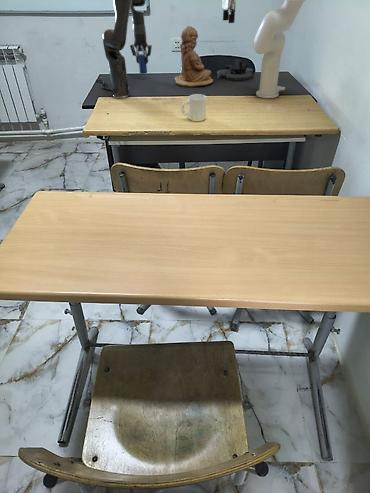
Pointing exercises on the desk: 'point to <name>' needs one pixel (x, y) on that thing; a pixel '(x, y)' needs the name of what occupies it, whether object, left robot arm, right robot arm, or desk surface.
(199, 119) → the mug
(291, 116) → the desk surface
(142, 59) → the can
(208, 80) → the sculpture
